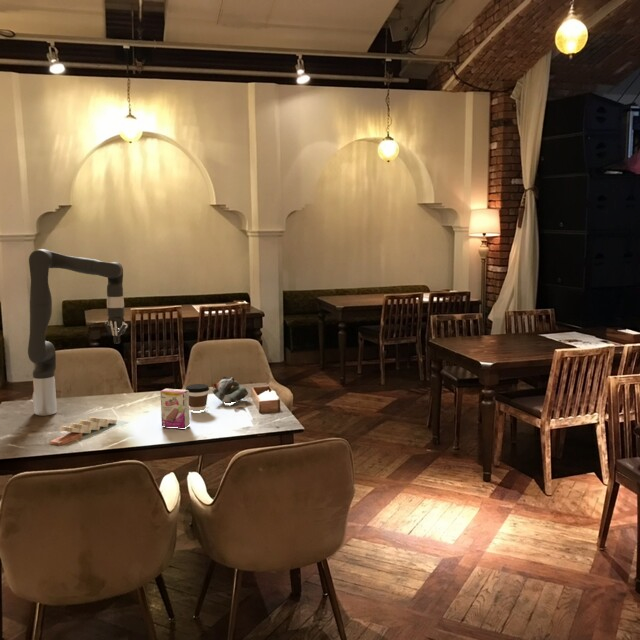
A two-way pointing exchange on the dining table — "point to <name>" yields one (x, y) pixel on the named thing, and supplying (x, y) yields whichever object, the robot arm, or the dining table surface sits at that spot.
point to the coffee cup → (197, 396)
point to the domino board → (102, 429)
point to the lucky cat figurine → (229, 390)
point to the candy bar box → (175, 408)
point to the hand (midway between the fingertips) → (117, 343)
